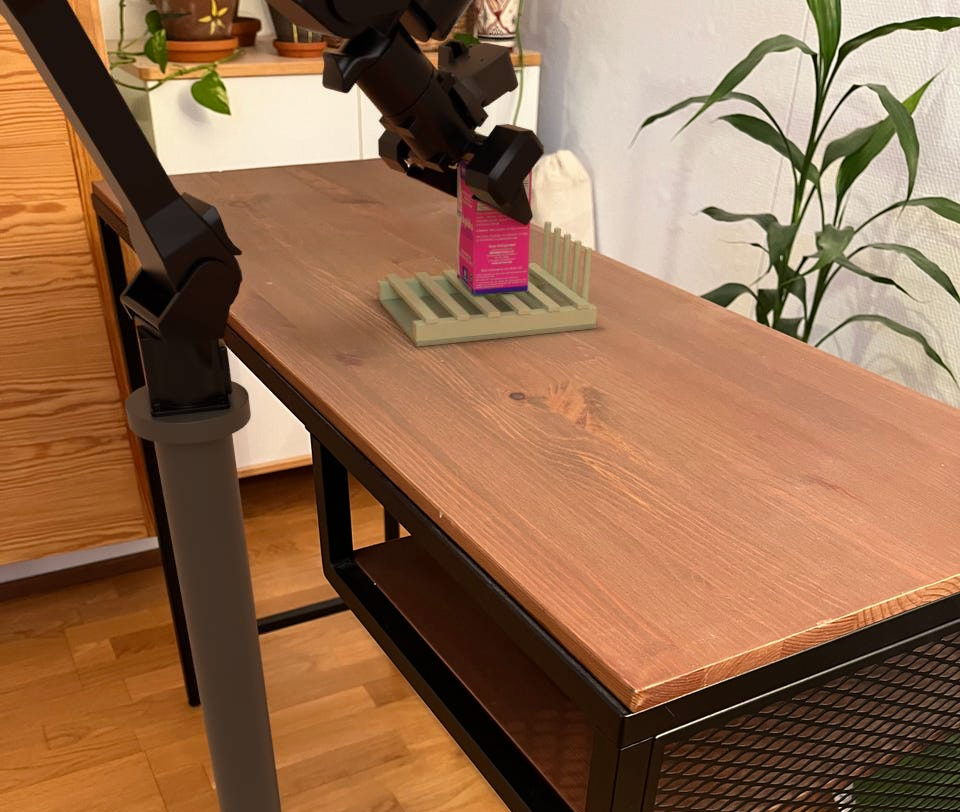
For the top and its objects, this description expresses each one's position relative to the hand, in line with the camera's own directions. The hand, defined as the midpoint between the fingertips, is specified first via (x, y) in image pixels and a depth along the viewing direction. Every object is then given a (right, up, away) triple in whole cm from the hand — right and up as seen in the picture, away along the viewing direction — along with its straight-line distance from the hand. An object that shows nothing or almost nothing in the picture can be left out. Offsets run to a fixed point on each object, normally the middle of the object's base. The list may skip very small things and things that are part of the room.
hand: (506, 212), depth 98 cm
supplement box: (-1, -6, +3) cm, 7 cm away
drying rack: (-2, -8, +5) cm, 10 cm away
